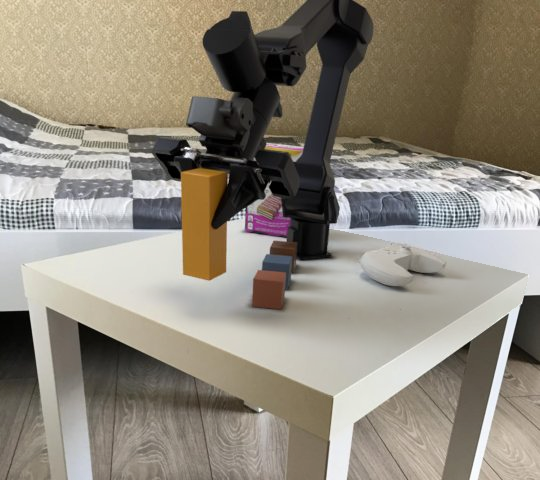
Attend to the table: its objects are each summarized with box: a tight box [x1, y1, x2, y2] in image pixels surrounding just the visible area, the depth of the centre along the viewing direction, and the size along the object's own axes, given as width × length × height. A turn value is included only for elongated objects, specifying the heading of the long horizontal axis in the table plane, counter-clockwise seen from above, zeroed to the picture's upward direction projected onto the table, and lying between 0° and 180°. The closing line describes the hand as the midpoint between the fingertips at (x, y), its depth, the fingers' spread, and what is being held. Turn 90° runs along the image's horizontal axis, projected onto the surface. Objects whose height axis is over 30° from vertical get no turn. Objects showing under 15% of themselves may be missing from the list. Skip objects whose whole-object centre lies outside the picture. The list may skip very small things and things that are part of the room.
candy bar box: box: [244, 142, 304, 238], centre depth 110 cm, size 11×5×16 cm, turn 71°
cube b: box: [261, 253, 292, 291], centre depth 86 cm, size 4×4×4 cm
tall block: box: [180, 168, 229, 282], centre depth 70 cm, size 4×4×12 cm
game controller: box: [358, 242, 447, 287], centre depth 93 cm, size 14×4×10 cm
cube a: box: [269, 240, 298, 274], centre depth 93 cm, size 4×4×4 cm
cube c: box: [251, 269, 286, 310], centre depth 80 cm, size 4×4×4 cm
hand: (198, 224), depth 69 cm, fingers closed on tall block, 4 cm apart
